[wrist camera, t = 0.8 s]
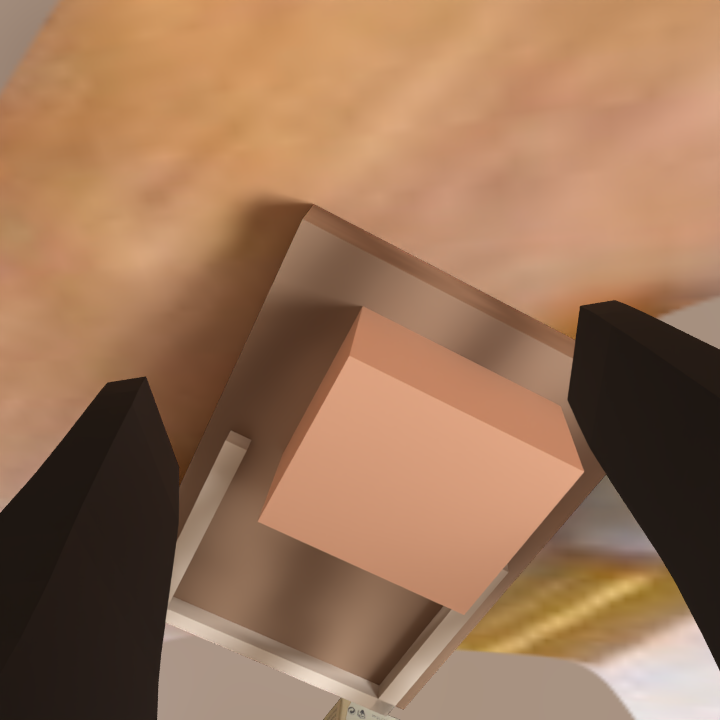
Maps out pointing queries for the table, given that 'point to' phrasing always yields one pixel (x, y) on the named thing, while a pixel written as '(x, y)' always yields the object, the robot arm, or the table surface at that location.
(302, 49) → the table surface
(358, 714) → the skincare box
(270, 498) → the terracotta carton
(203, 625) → the brown piece
